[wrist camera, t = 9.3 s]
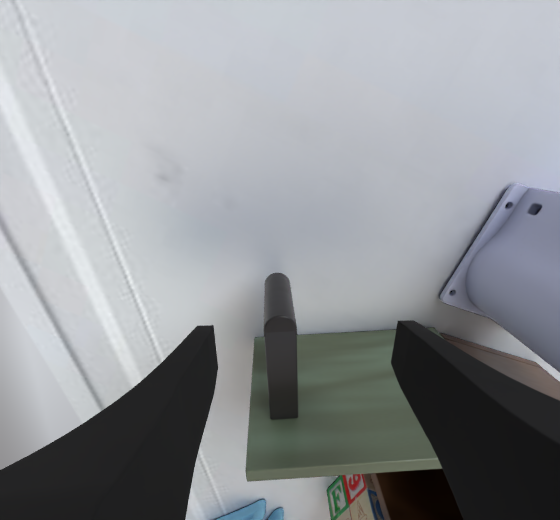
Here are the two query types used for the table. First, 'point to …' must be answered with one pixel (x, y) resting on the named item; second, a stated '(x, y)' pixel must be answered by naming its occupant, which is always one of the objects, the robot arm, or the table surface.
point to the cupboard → (433, 483)
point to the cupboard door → (327, 401)
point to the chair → (254, 513)
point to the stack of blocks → (354, 498)
